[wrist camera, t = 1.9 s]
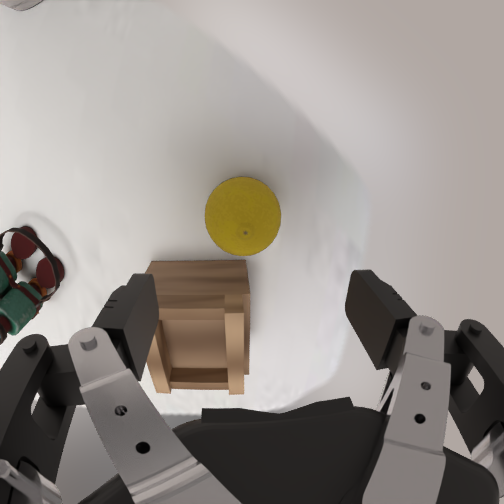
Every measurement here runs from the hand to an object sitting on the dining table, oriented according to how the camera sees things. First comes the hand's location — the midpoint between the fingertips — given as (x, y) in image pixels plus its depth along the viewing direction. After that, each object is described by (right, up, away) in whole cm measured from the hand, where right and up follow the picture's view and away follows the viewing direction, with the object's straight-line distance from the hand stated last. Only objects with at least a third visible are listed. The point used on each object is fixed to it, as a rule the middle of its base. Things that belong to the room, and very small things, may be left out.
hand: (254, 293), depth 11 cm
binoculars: (-24, +1, +14) cm, 28 cm away
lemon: (-1, +6, +13) cm, 15 cm away
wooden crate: (-5, -3, +17) cm, 18 cm away
